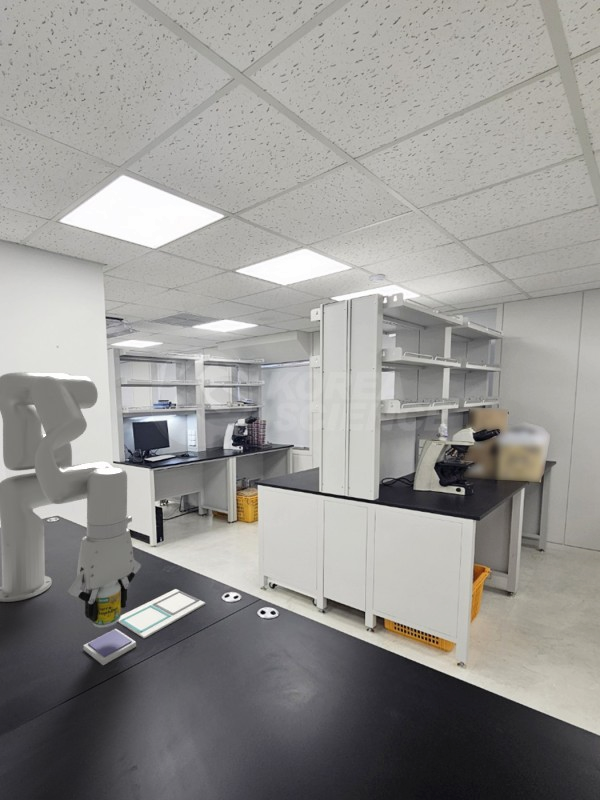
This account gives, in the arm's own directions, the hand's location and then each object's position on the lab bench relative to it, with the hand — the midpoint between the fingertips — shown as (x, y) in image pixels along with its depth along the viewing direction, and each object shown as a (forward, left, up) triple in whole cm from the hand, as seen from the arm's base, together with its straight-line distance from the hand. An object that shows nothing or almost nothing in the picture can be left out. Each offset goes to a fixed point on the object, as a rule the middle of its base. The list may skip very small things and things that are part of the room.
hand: (106, 611), depth 82 cm
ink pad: (+1, 0, -7) cm, 8 cm away
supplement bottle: (0, 0, -2) cm, 2 cm away
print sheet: (-2, +15, -7) cm, 16 cm away
